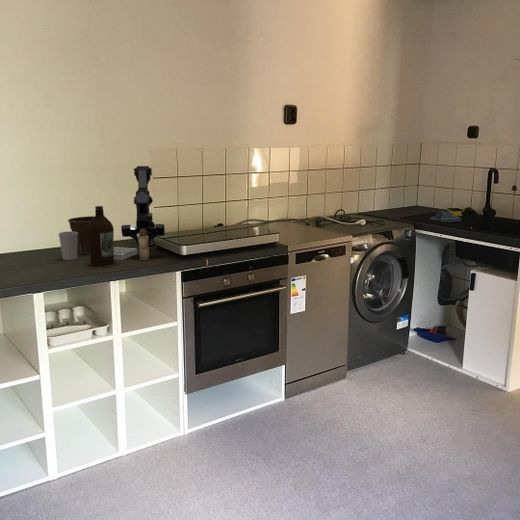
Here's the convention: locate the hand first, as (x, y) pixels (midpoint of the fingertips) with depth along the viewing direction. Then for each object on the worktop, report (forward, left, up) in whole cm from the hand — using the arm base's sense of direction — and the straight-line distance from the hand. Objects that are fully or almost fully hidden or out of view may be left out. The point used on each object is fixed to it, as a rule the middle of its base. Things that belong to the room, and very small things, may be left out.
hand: (143, 246), depth 255 cm
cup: (+7, -33, -7) cm, 34 cm away
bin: (-3, -15, -7) cm, 16 cm away
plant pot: (-8, -33, -7) cm, 34 cm away
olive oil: (+12, -14, -7) cm, 19 cm away
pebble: (+1, -12, -6) cm, 14 cm away
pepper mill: (-1, -1, -7) cm, 7 cm away
